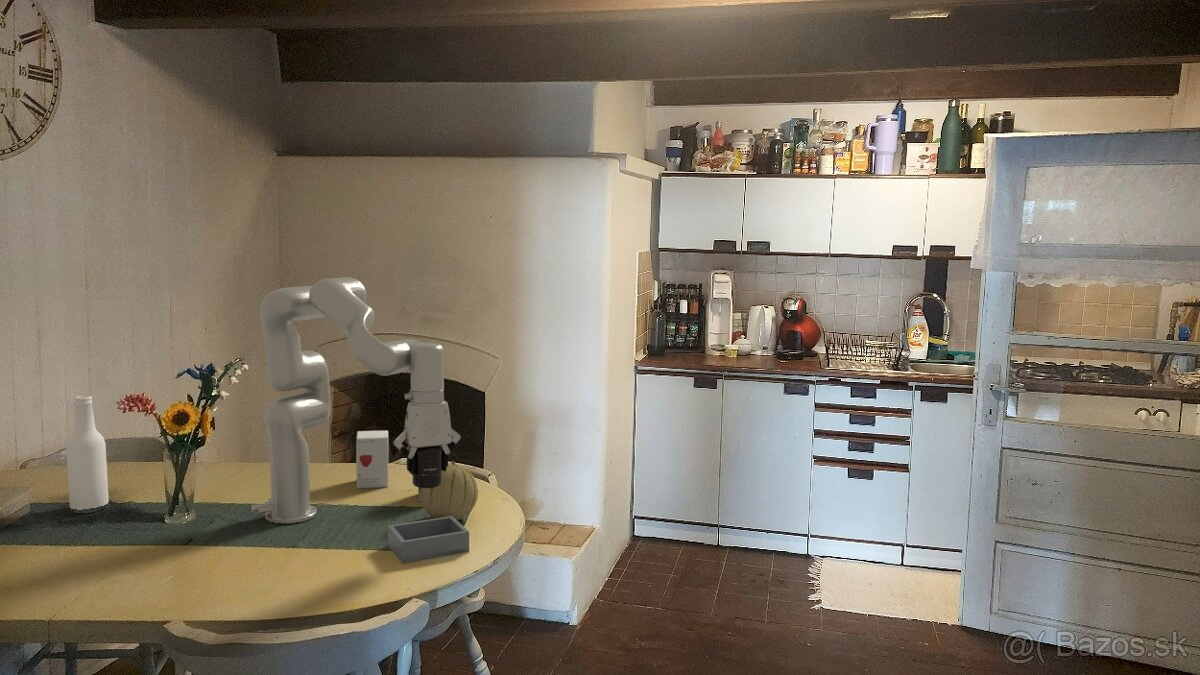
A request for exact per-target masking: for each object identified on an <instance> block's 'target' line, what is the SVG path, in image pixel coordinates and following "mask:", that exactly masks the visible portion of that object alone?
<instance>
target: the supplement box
mask: <svg viewBox="0 0 1200 675" xmlns="http://www.w3.org/2000/svg"><path fill="white" fill-rule="evenodd" d="M355 445H356V447H355V448H356V449H355V450H356V451H355V453H356V455H355V458H356V459H355V460H356V462H355V463H356V470H355V471H356V474H355V475H356V489H369V488H370V489H371V488H388V487H389V430H363V431H361V430H358V431H356V443H355Z"/></svg>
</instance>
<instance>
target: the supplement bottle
mask: <svg viewBox="0 0 1200 675" xmlns="http://www.w3.org/2000/svg"><path fill="white" fill-rule="evenodd" d="M442 454H443V452H442V448H441V446H431V447H422V448H417V450H416V452H415V454H414V458H415V459H416V474H415V475H412V484H413V486H414V487H415V488H416V487H417V488H418V487H419V488H434V487H438V486H440V485H441V483H442Z"/></svg>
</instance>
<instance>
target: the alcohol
mask: <svg viewBox="0 0 1200 675" xmlns="http://www.w3.org/2000/svg"><path fill="white" fill-rule="evenodd" d="M73 399H74V405H75V406H74V429H73V433H71V435H70V436H69V438H68V439H67V441H66V445H65V451H66V452H65V453H66V463H67V464H66V465H67V466H66V467H67V480H68V496H69V498H68V499H69V509H70V508H71V509H77V510H83V509H90V508H97V507H100V506H104V505H106V504H108V502H109V503H110V501H109V500H110V498H109V482H108V465H107V462H108V461H107V449H106V448H107V446H106V441H105V438H104V436H103V434H101V433H100V432H99V431H98V430H97V428H96V423H95V415H94V408H93V397H92V395H84V394H83V395H78V396H75V397H74V398H73ZM108 505H109V504H108ZM71 509H70V510H71Z"/></svg>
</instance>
